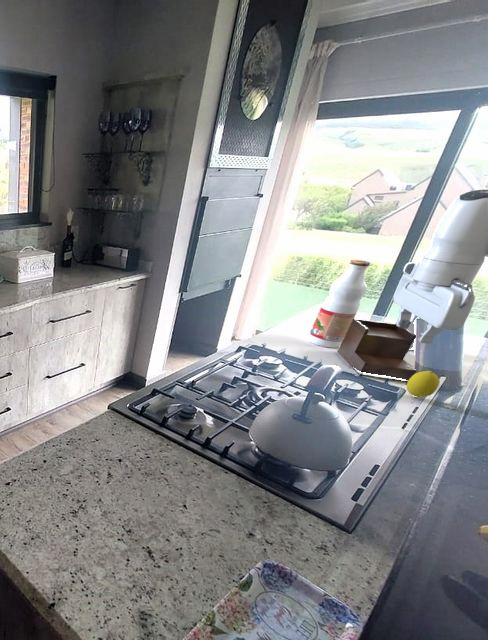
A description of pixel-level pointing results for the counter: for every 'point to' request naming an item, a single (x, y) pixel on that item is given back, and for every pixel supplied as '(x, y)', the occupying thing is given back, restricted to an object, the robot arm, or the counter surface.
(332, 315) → the fruit juice
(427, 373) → the lemon
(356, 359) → the brown stepped wooden block
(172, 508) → the counter surface
